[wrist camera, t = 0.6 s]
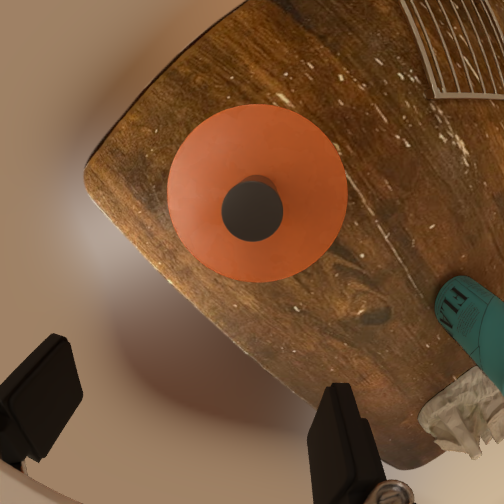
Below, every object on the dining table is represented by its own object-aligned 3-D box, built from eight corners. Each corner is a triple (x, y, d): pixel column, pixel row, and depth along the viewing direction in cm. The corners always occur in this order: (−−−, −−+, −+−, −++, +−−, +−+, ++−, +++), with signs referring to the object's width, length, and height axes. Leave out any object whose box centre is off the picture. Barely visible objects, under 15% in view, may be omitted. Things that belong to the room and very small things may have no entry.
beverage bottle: (436, 265, 28) (562, 368, 9) (476, 272, 28) (590, 359, 9) (419, 318, 30) (512, 442, 11) (459, 320, 30) (551, 424, 11)
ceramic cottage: (413, 406, 34) (453, 484, 20) (499, 343, 32) (554, 402, 17) (425, 444, 38) (454, 505, 24) (496, 394, 36) (534, 445, 22)
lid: (140, 173, 21) (81, 182, 13) (281, 75, 19) (290, 30, 11) (234, 304, 24) (221, 369, 16) (372, 220, 21) (423, 251, 14)
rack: (379, -19, 19) (385, -28, 17) (475, -3, 18) (483, -8, 16) (425, 101, 23) (435, 98, 21) (513, 102, 22) (524, 101, 20)
